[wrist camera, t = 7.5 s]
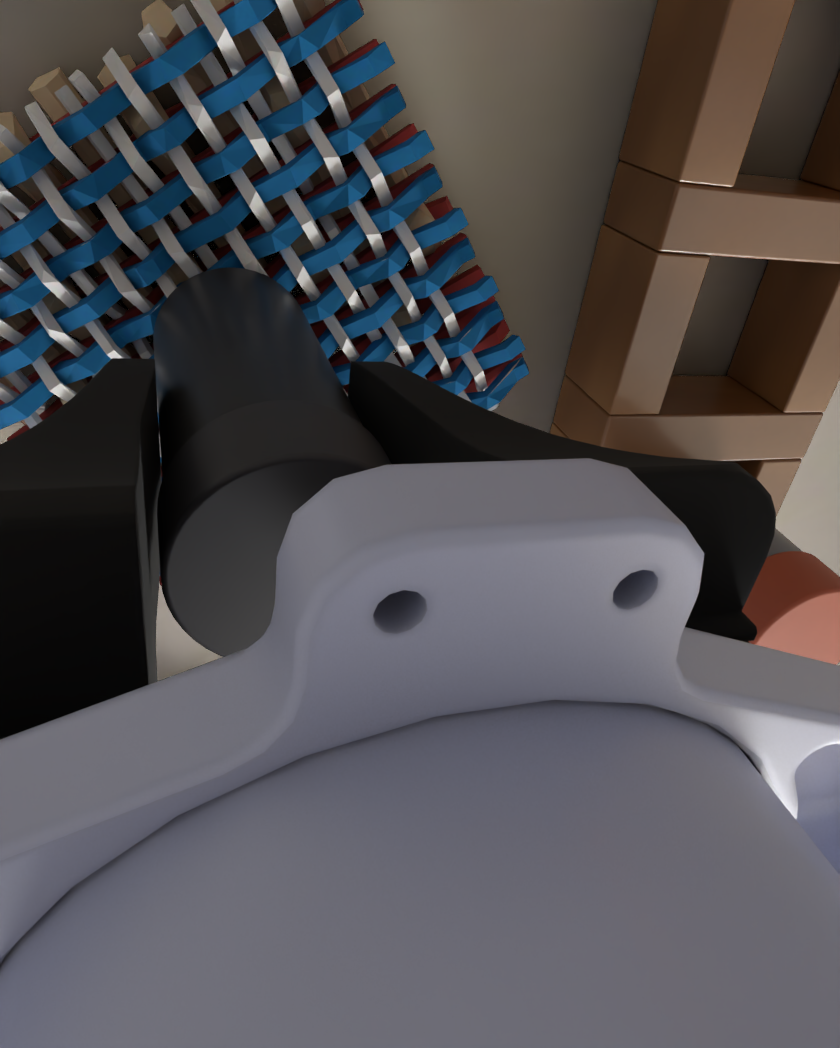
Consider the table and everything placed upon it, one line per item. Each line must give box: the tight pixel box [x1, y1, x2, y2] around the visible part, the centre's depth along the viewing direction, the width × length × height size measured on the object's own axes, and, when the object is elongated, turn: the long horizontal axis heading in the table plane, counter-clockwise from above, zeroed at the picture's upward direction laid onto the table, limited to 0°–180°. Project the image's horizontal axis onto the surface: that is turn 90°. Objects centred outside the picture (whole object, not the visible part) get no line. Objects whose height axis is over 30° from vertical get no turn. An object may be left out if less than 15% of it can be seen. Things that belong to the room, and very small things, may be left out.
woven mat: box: [0, 0, 529, 586], centre depth 16 cm, size 10×11×2 cm
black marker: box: [153, 268, 391, 657], centre depth 12 cm, size 3×3×8 cm
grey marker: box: [742, 528, 840, 665], centre depth 20 cm, size 3×3×8 cm
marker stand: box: [550, 0, 840, 516], centre depth 19 cm, size 17×7×2 cm, turn 172°
